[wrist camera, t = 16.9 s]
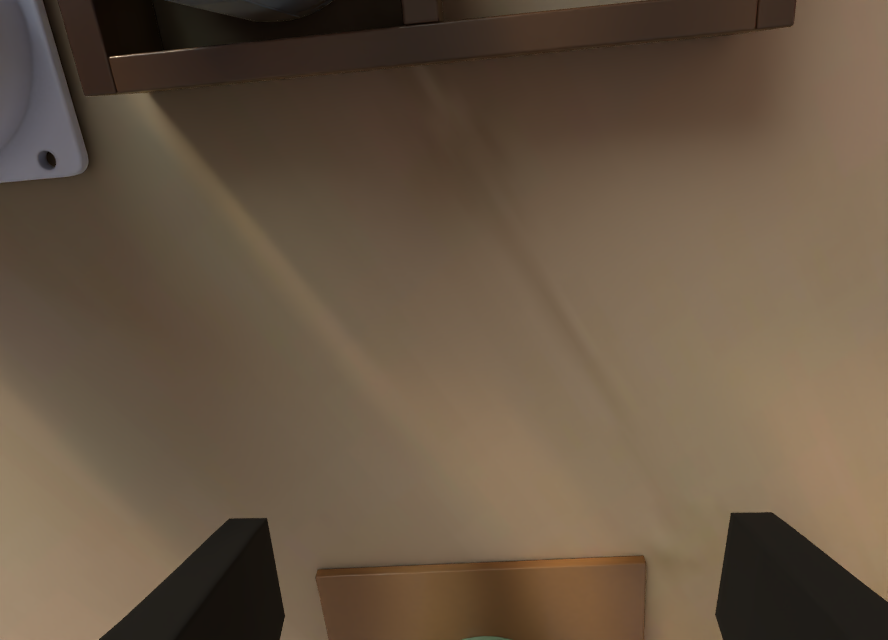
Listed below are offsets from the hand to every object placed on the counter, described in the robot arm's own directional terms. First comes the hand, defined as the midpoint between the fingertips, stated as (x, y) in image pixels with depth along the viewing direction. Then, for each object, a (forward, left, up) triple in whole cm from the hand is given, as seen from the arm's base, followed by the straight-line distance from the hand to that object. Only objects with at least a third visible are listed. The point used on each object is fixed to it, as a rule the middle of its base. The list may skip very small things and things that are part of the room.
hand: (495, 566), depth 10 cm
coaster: (-1, -16, -10) cm, 19 cm away
